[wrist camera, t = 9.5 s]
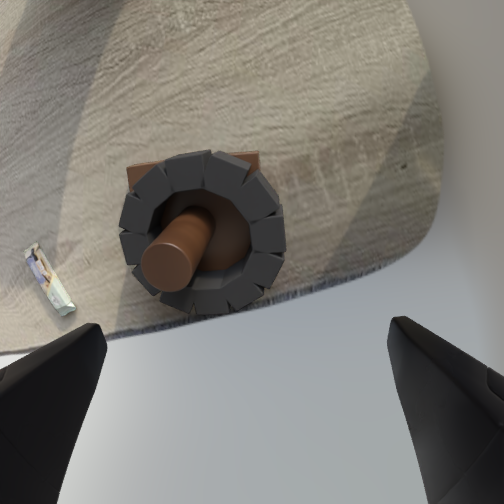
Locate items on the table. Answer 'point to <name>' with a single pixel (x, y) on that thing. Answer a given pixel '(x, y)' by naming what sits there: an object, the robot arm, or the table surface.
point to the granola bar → (48, 279)
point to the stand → (194, 233)
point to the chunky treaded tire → (247, 203)
